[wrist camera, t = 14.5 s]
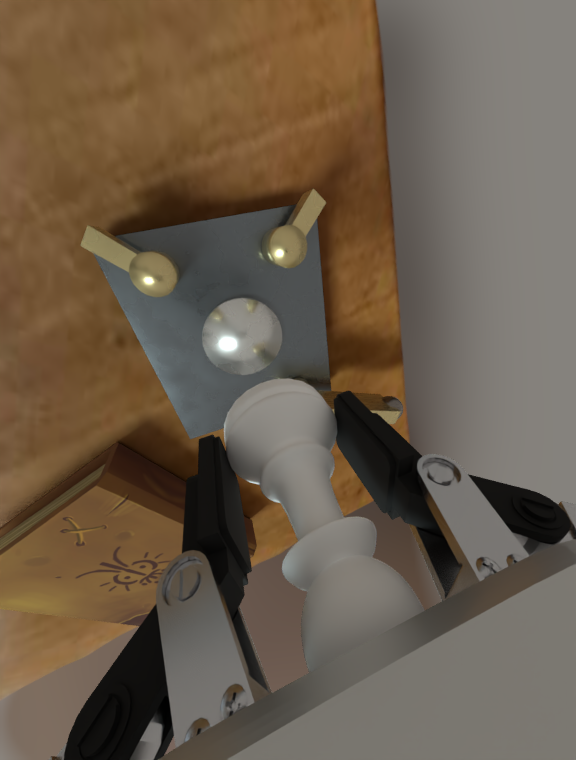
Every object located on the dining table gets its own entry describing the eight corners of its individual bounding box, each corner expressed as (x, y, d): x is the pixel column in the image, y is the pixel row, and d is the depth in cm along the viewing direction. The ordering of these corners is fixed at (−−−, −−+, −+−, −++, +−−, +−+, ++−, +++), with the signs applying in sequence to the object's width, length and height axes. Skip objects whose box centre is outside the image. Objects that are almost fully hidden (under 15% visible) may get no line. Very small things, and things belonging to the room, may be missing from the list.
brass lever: (281, 400, 26) (296, 428, 22) (287, 376, 25) (304, 402, 21) (377, 404, 31) (404, 428, 27) (386, 385, 30) (415, 407, 26)
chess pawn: (341, 407, 13) (545, 644, 5) (279, 472, 14) (376, 753, 6) (272, 355, 10) (479, 680, 3) (200, 438, 11) (197, 864, 3)
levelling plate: (93, 233, 17) (59, 229, 13) (305, 197, 20) (333, 185, 16) (191, 426, 27) (189, 460, 23) (323, 384, 30) (344, 407, 25)
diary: (250, 513, 38) (258, 552, 33) (156, 579, 39) (151, 627, 34) (120, 436, 25) (102, 482, 21) (-17, 537, 26) (-65, 604, 21)
